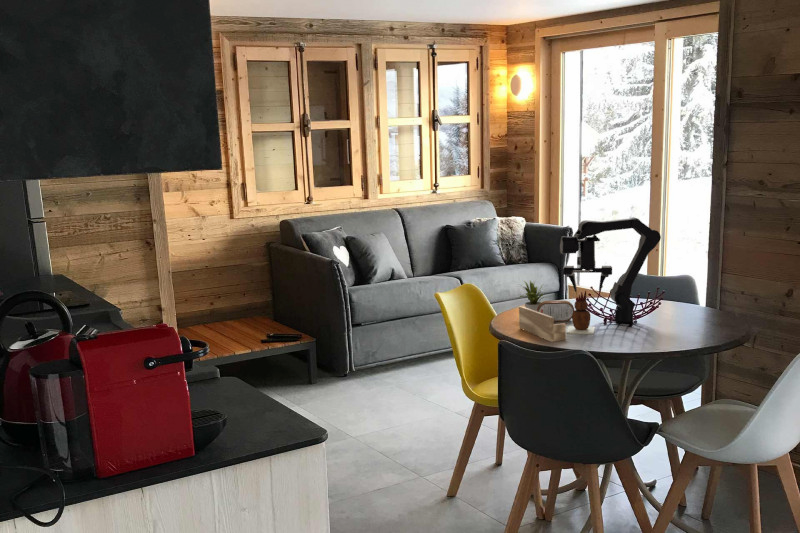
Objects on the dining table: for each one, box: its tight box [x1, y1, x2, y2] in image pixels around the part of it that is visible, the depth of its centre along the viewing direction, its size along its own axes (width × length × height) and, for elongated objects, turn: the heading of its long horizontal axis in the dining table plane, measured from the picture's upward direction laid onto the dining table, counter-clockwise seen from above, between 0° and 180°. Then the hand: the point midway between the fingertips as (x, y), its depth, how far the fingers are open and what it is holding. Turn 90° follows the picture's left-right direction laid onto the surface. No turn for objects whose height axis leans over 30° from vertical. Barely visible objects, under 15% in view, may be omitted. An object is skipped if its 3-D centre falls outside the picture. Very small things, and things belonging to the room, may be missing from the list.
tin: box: [537, 300, 575, 323], centre depth 320 cm, size 15×3×8 cm, turn 84°
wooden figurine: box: [571, 290, 591, 330], centre depth 301 cm, size 7×6×15 cm
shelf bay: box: [518, 305, 567, 342], centre depth 299 cm, size 6×24×9 cm, turn 20°
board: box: [566, 325, 596, 335], centre depth 302 cm, size 10×10×1 cm
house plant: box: [518, 279, 549, 311], centre depth 328 cm, size 14×14×16 cm
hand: (587, 291), depth 311 cm, fingers open, 9 cm apart
